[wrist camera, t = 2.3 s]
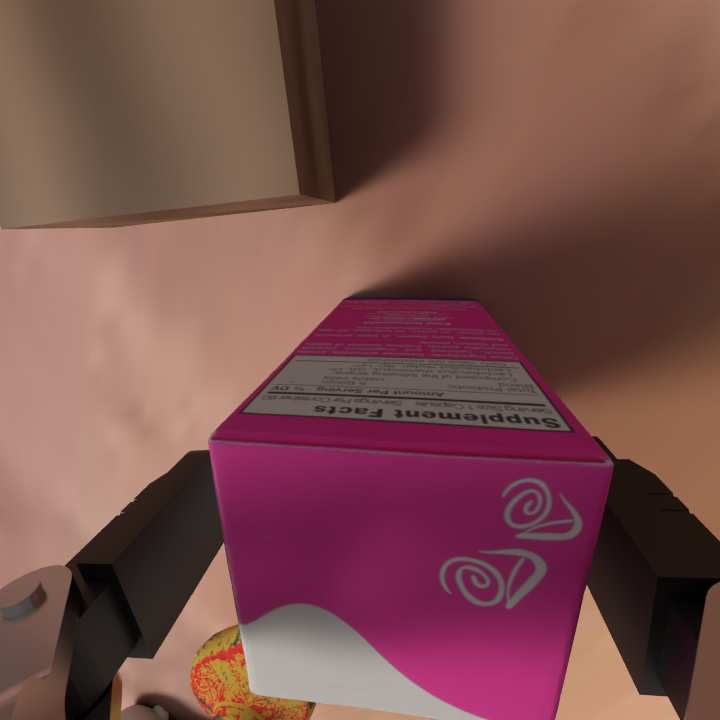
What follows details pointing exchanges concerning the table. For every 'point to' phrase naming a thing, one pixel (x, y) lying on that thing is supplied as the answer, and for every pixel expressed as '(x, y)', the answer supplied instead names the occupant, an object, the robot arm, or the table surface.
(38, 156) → the block
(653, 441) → the table surface
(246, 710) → the magic lamp
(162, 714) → the smooth white sculpture
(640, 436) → the table surface
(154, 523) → the robot arm
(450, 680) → the supplement box
